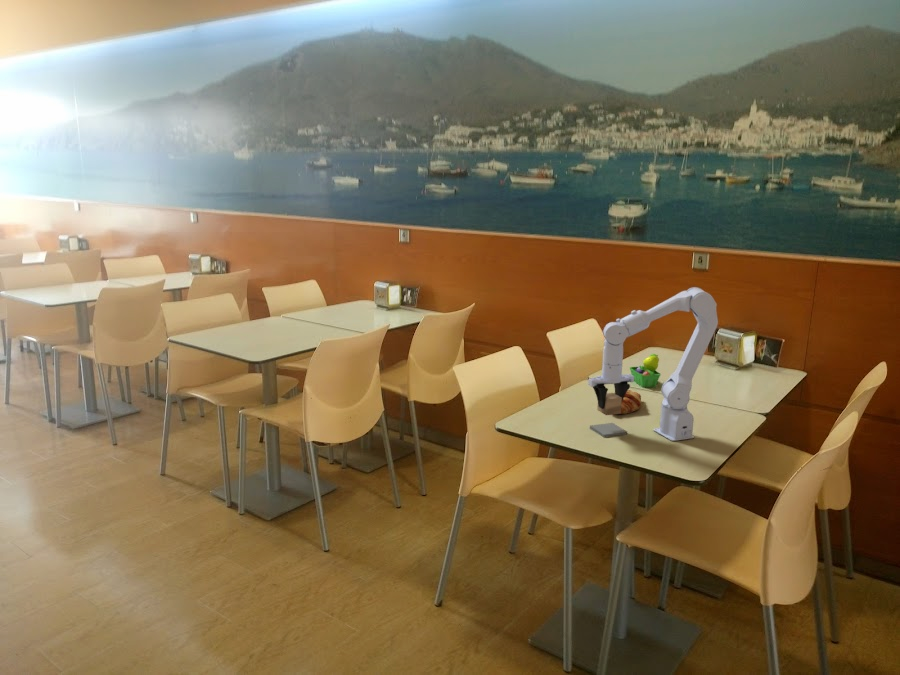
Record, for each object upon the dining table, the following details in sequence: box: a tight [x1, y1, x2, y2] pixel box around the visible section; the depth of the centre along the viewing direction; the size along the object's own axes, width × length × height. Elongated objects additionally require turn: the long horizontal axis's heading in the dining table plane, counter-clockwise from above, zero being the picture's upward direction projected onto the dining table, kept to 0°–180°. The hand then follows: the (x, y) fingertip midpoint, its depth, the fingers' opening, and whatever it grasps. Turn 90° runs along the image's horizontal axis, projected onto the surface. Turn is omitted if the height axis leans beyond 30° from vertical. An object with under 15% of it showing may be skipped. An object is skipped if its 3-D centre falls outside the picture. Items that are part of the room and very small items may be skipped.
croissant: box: [613, 389, 642, 415], centre depth 227 cm, size 21×10×8 cm, turn 143°
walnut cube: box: [596, 392, 622, 416], centre depth 205 cm, size 5×5×5 cm
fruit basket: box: [629, 353, 662, 388], centre depth 253 cm, size 11×9×11 cm
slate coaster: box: [589, 422, 628, 438], centre depth 207 cm, size 8×8×1 cm
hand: (609, 406), depth 205 cm, fingers closed on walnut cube, 5 cm apart
